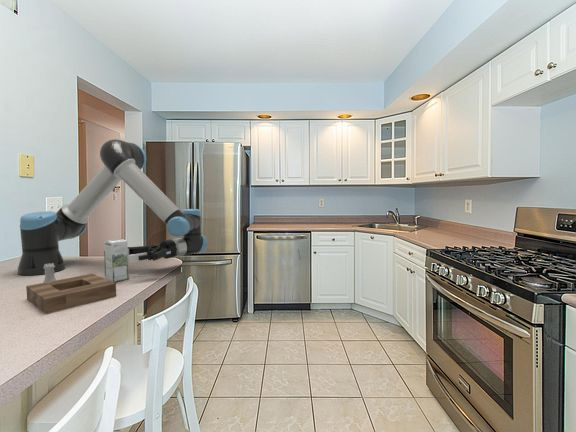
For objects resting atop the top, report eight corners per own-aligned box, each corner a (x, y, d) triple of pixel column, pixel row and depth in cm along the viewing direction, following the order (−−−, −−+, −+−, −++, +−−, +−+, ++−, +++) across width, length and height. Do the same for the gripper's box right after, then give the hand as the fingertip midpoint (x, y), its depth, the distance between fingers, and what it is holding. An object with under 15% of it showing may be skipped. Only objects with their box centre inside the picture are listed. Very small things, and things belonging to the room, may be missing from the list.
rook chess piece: (44, 286, 109) (42, 263, 108) (60, 284, 111) (58, 262, 110) (40, 290, 105) (38, 266, 104) (56, 288, 107) (55, 264, 106)
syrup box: (120, 276, 121) (119, 238, 119) (129, 279, 117) (127, 239, 116) (105, 280, 116) (102, 240, 115) (113, 283, 113) (111, 242, 111)
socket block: (27, 299, 96) (26, 286, 96) (92, 284, 110) (92, 273, 110) (45, 313, 85) (44, 298, 85) (116, 295, 99) (115, 283, 99)
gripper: (190, 261, 125) (137, 272, 109) (156, 253, 141) (105, 262, 124) (190, 242, 125) (136, 250, 108) (156, 236, 140) (104, 243, 124)
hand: (119, 256), depth 116 cm, fingers open, 13 cm apart
